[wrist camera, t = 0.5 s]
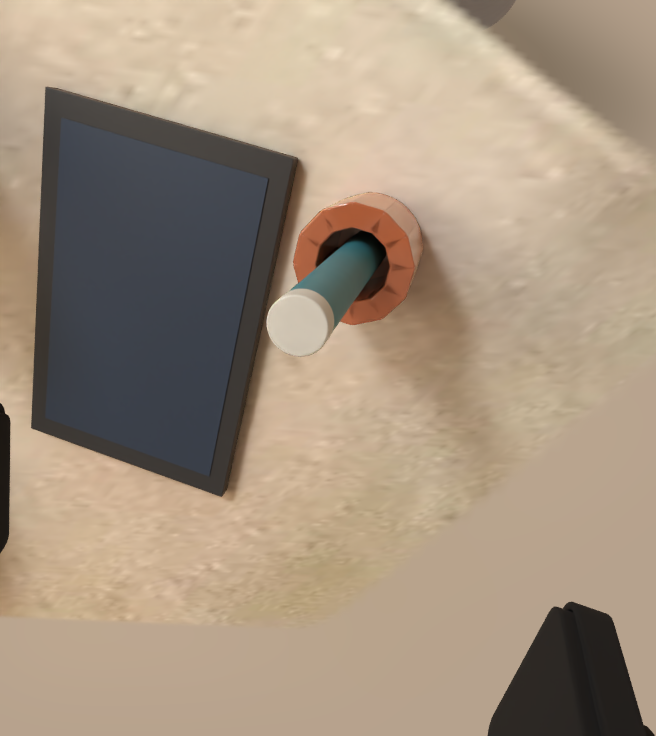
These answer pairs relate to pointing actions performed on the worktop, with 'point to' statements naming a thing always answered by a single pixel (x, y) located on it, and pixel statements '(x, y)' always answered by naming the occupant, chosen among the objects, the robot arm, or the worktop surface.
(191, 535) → the worktop surface
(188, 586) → the worktop surface
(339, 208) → the holder
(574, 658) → the robot arm
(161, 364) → the tablet
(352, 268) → the stylus
